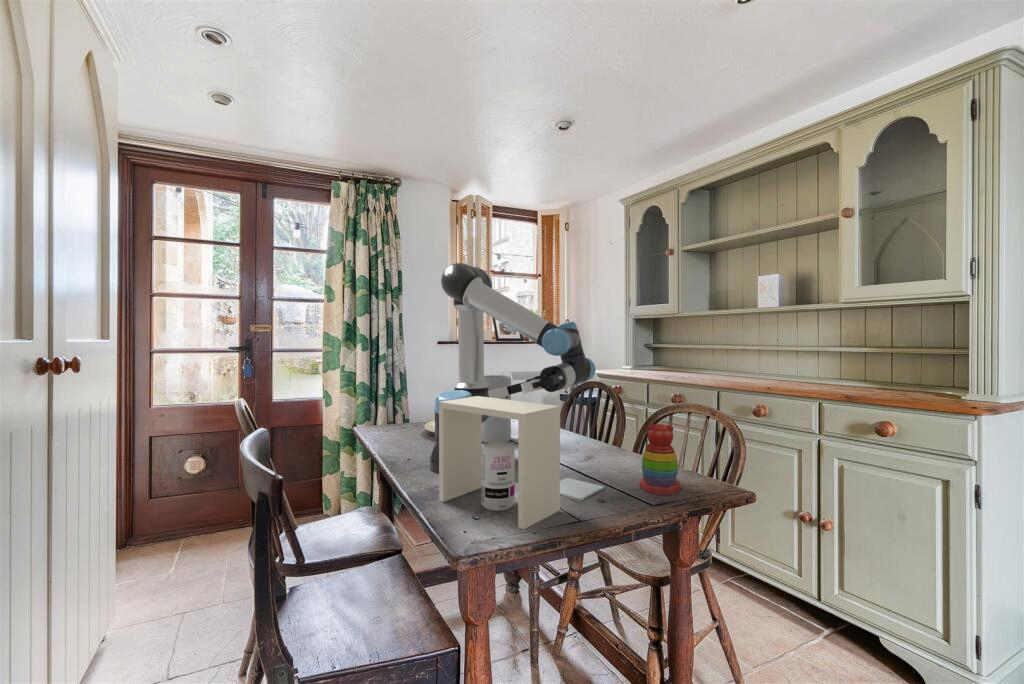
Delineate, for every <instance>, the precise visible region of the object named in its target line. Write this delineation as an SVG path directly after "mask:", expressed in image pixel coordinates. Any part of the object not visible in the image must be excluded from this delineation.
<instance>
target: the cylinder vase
mask: <svg viewBox="0 0 1024 684" xmlns="http://www.w3.org/2000/svg"><path fill="white" fill-rule="evenodd" d="M484 381H485V383H486V384H487V385H488V386H489V391H492V390H496V389H499V388H502V387H506V386H511V385H512V376H510V375H497V374H496V375H493V374H492V375H484ZM499 399H506V400H512V394H510V395H509V396H508V398H506V397H503V398H499ZM511 439H512V419H508V418H501V417H495V416H490V417H489V418H488V419H487V420H485V421H484V422H483V423H482V443H484V444H485V443H488V442H496V441H500V442H508V443H509V441H511Z"/></svg>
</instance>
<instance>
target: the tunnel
mask: <svg viewBox="0 0 1024 684" xmlns="http://www.w3.org/2000/svg"><path fill="white" fill-rule="evenodd" d="M482 415H489V416H495V417H501V418H508V419H511V420H515V421H517V422H518V425H517V426H518V429H517V430H518V431H517V432H518V435H517V436H518V437H517V439H518V442H517V443H518V444H517V448H518V449H517V454H518V455H517V456H518V459H517V462H518V463H517V464H518V465H517V466H518V467H517V469H518V470H517V472H518V473H517V474H518V476H517V477H518V478H517V480H518V481H517V483H518V484H517V486H518V487H517V496H518V497H517V528H518V529H521V530H526V529H528V528H529V527H531V526H532V525H534V524H535V525H536V524H537V523H539V522H541V521H543V520H544V519H546V518H549V517H550V516H552V515H554V514H556V513H558V512H560V509H561V503H560V501H561V499H560V498H561V495H560V480H561V405H553V404H545V403H537V402H532V401H531V402H530V401H529V402H528V401H520V400H514V399H511V400H506V399H498V398H490V397H481V396H475V397H468V398H461V399H455V400H448V401H442V402H439V472H438V477H439V478H438V481H439V482H438V483H439V486H438V487H439V489H438V493H439V494H438V495H439V496H438V500H439V502H442V503H445V502H447V501H451V500H453V499H455V498H458V497H461V496H463V495H466V494H468V493H469V494H470V493H471V492H474V491H477V490H481V450H482V448H483V446H482V443H483V442H482Z"/></svg>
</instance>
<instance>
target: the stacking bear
mask: <svg viewBox="0 0 1024 684" xmlns="http://www.w3.org/2000/svg"><path fill="white" fill-rule="evenodd" d="M647 429H648V430H647V432H646V433H647V439H648V444H647V445H646V446H645V449H644V451H643V456H642V460H641V472H642V476H643V477H641V478H640V480H639V486H640V488H641V489H642V490H644V491H645V492H647V493H649V494H651V495H652V494H654V495H658V496H659V495H661V496H669V495H670V496H671V495H675V494H677V493H678V492H680V490H681V488H682V486H681V483H680V481H679V480H677V477H678V473H679V463H678V456H677V452H676V451H675V448H674V447H673V446H672V442H673V439H674V433H673V431H674V426H673V425H671V424H668V425H666V424H663V423H655V424H653V423H650V424H648V426H647Z"/></svg>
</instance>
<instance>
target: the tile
mask: <svg viewBox="0 0 1024 684" xmlns="http://www.w3.org/2000/svg"><path fill="white" fill-rule="evenodd" d="M603 489H605V486H603V485H599V484H594V483H592V482H591V483H590V482H587V481H583V480H579V479H574V478H570V477H566V478H563V479H560V496H563V497H567V498H570V499H575V500H577V501H582V500H585V499H586V498H588V497H591V496H592V495H594V494H596V493H598V492H599V491H601V490H603Z"/></svg>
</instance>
